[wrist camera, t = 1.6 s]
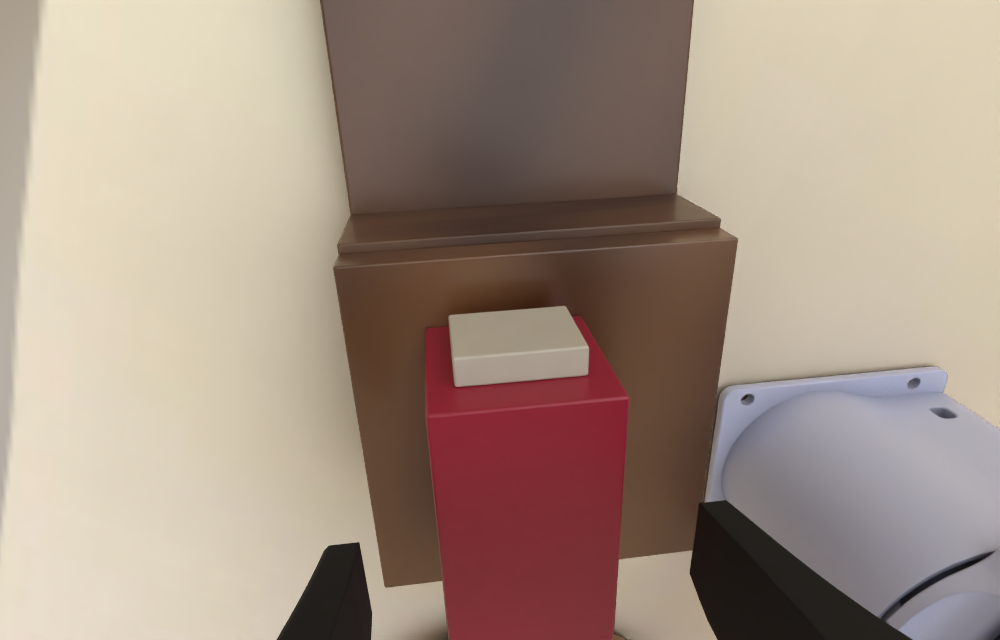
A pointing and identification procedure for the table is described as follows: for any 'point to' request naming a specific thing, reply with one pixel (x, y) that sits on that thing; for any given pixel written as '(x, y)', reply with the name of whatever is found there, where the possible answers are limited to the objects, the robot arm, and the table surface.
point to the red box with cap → (525, 474)
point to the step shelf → (524, 230)
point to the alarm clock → (618, 637)
